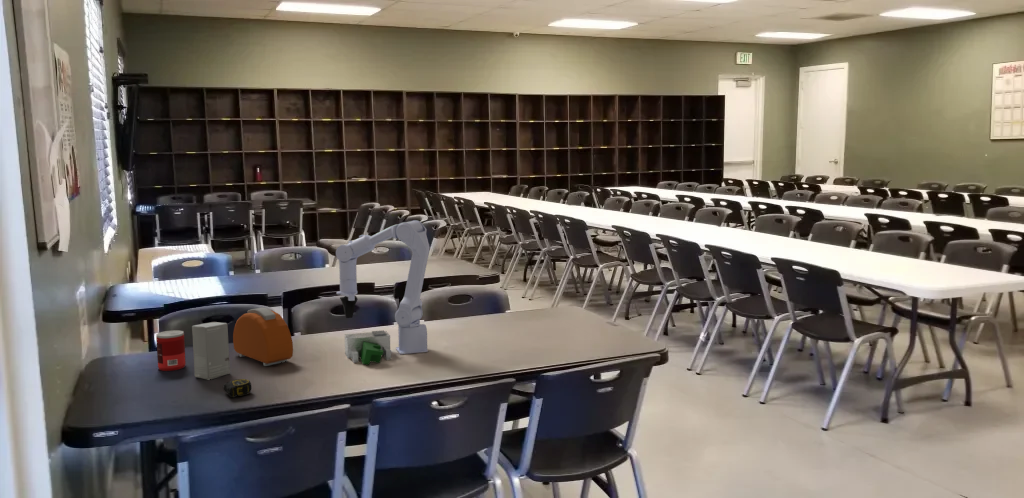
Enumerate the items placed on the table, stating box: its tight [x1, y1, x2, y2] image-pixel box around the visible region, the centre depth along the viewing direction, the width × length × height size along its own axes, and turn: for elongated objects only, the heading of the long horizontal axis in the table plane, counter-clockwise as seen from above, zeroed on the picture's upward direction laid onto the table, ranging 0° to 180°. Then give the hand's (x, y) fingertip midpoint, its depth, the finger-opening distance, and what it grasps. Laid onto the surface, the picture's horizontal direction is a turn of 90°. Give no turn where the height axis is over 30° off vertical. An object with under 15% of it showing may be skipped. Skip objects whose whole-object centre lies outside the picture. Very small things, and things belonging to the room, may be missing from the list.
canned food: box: [155, 329, 187, 372], centre depth 234 cm, size 8×8×11 cm
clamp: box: [359, 342, 383, 366], centre depth 243 cm, size 11×6×8 cm, turn 10°
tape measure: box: [222, 378, 253, 398], centre depth 209 cm, size 7×7×4 cm
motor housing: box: [344, 330, 392, 364], centre depth 248 cm, size 14×12×7 cm
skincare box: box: [191, 321, 231, 381], centre depth 226 cm, size 8×7×16 cm
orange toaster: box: [232, 307, 294, 367], centre depth 244 cm, size 23×9×17 cm, turn 47°
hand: (349, 317), depth 261 cm, fingers closed
